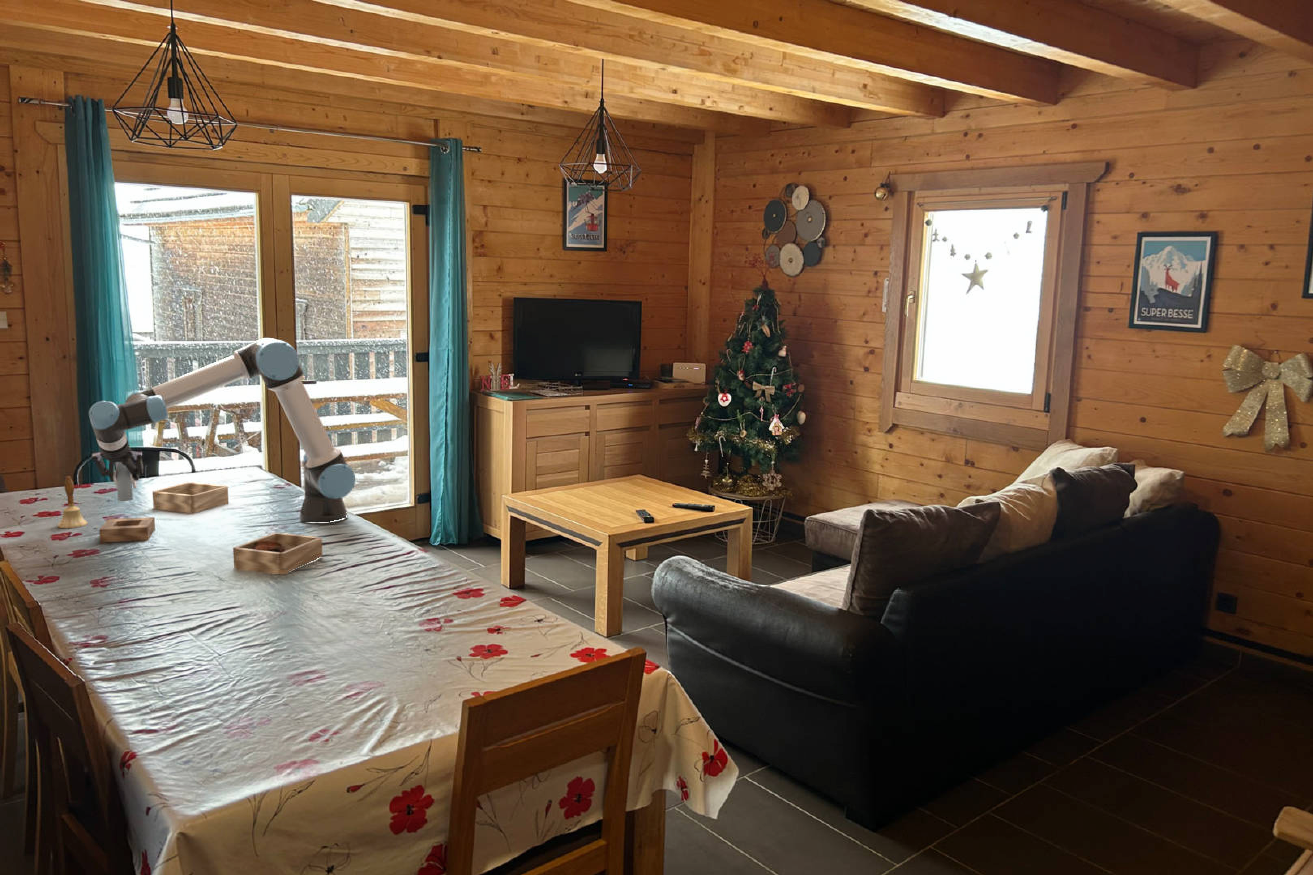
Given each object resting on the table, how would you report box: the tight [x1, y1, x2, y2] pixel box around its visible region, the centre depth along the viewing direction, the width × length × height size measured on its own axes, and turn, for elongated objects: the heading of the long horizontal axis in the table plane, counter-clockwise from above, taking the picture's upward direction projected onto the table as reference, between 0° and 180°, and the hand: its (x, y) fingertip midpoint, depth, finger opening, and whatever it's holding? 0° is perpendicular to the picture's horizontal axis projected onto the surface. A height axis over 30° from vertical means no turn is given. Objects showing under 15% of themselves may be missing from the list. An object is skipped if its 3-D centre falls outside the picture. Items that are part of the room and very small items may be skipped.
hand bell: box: [57, 475, 89, 529], centre depth 309 cm, size 8×8×16 cm
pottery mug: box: [252, 541, 286, 553], centre depth 273 cm, size 12×10×8 cm
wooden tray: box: [152, 482, 229, 514], centre depth 339 cm, size 17×17×6 cm
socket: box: [98, 516, 156, 543], centre depth 299 cm, size 13×13×4 cm
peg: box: [115, 462, 134, 502], centre depth 297 cm, size 4×4×12 cm
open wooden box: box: [232, 532, 323, 575], centre depth 275 cm, size 16×18×6 cm
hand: (127, 485), depth 300 cm, fingers closed on peg, 4 cm apart
